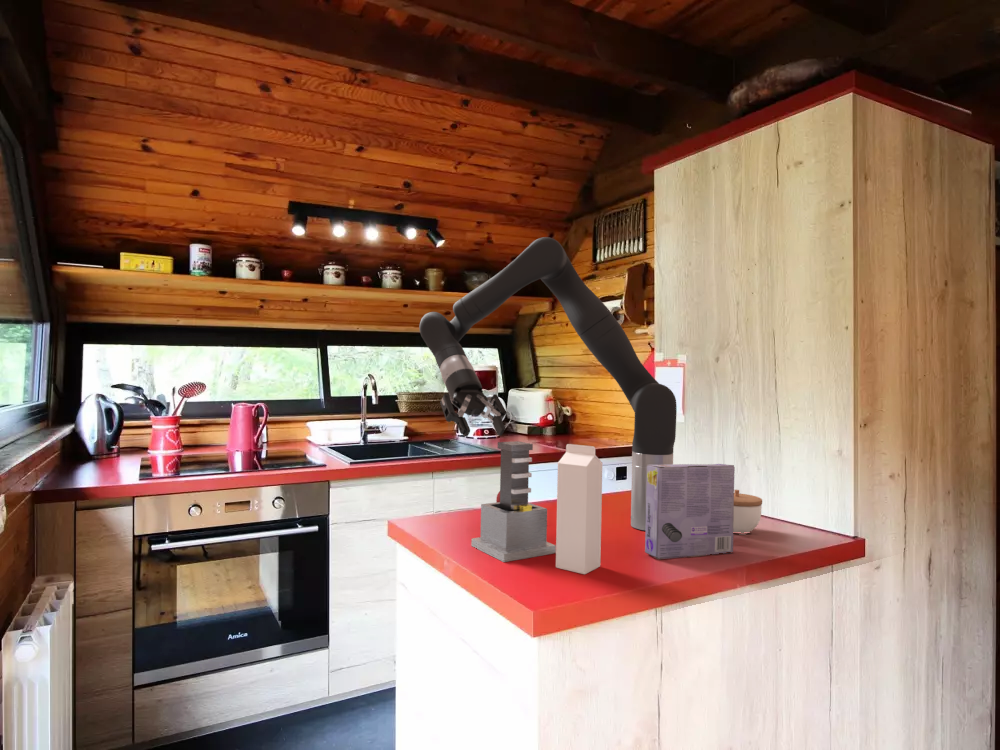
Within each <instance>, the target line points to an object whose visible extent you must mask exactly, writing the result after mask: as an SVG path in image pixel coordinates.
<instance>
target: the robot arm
mask: <svg viewBox="0 0 1000 750" xmlns="http://www.w3.org/2000/svg"><path fill="white" fill-rule="evenodd" d="M538 280H541V281H542V283H544V285H545V286H546V287H547V288H548V289H549V290H550V292H551V293H552V294H553V296H555V297H556V299H557V300H558V302H559V303H560V305H561V307H562V308H563V311H564V312H565V315H566V317H567V319H568V320H569V322H570V324H571V326H572V327H573V329H574V330H575V332H576V334H577V335H578V337H579V338H580V339H581V341H582V342H583V344H584V345H585V346H586V347H587V349H588V350H589V352H591V354H592V355H593V356H594V358H595V359H596V361H598V363H600V365H601V366H602V367H603V368H604V369H605V370H606V371H607V372H608V373H609V374H610V375H611V376H612V378H613V379H614V380H615V381H616V382H617V383H616V384H618V386H619V388H620V389H621V391H622V392H623V394H624V395H625V398H626V399H627V401H628V403H629V404H630V406H631V409H632V410H633V412H634V423H633V425H634V427H633V428H634V429H633V430H634V431H633V437H632V447H631V452H632V453H631V497H630V499H631V500H630V526H631V527H632V528H634V529H637V530H641V531H646V488H647V465H671V464H674V446H675V442H676V437H677V436H676V435H677V407H678V406H677V399H676V395H675V394H674V392H673V391H672V390H671V389H670V387H668V386H666V385H665V384H662V383H659V382H658V381H657V380H656V379H655V378H654V377H653V375H652V374H651V373H650V372H649V371H648V369H647V368H646V367H645V366H644V365H643V364H642V362H641V361H640V359H639V357H638V356H637V353H636V351H635V349H634V347H633V345H632V343H631V340H630V339H629V337H628V336H627V334H626V332H625V330H624V328H623V327H622V326H621V324H620V322H619V321H618V320H617V318H616V317H615V316H614V315H613V313H612V312H611V310H609V308H608V307H607V306H606V305H605V304H604V302H603V301H602V300H601V299H600V298H599V297H598V295H596V294H595V293H594V292H593V291H592V290H591V289H590V287H589V286H587V284H585V282H584V281H583V279H581V277H580V275H579V274H578V272H577V270H576V269H575V267H574V266H573V264H572V262H571V260H570V258H569V257H568V255H567V253H566V250H565V248H564V247H563V246H562V244H561V243H560V242H559V241H558V240H556V239H555V238H552V237H549V236H543V237H538V238H537V239H535V240H533V241H532V242H531V243H530V244H529V245H528V246H527V247H526V248H525V249H524V250H523V251H522V252H520V254H519V255H518V256H517V257H516V258H515V259H513V260H512V261H511V262H510V263H509V264H507V265H506V267H504V268H503V269H502V270H500V271H499V272H498V273H496V274H495V275H494V276H492V277H491V278H489V279H488V280H486V281H485V282H483V283H481V284H480V285H479V286H477V287H476V288H474V289H473V290H472V291H470V292H468V293H467V294H466V295H464V296H463V297H461V298H460V299H458V300H457V301H455V302H454V303H453V306H452V311H453V313H454V317H453V318H452V319H451V320H448V319H447V318H446V316H444V315H443V314H442V313H440V312H437V311H431V312H427V313H425V314H424V315H423V316H422V317H421V319H420V322H419V324H418V325H419V326H418V328H419V333H420V336H421V338H422V340H423V341H424V343H425V345H426V346H427V348H428V349H429V351H430V352H431V353H432V355H433V356H434V358H435V361H436V364H437V366H438V368H439V371H440V374H441V375H440V376H441V378H442V381H443V383H444V386H445V388H446V391H447V393H444V395H443V397H442V398H441V400H440V402H439V403H440V406H441V409H442V412H443V415H444V419H445V420H446V422H448V423H451V422H454V424H456V426H457V428H458V430H459V433H460V434H461V435H463V437H469V435H470V433H471V428H470V426H469V424H468V422H467V418H466V417H464V416H465V414H466V415H467V416H472V415H475V416H481V418H484V419H487V420H489V421H491V422H492V425H493V428H494V431H495V433H496V434H497V436H502V435H503V434H504V432H505V430H506V426H505V424H504V422H503V420H504V417H506V415H507V413H508V412H507V411H506V409H505V407H504V405H503V403H502V401H501V399H500V398H499V396H498V395H497V394H494V393H493V394H492V396H487V395H485V394H484V392H483V386H482V384H481V381H480V378H479V377H478V375H477V372H476V371H475V369H474V366H473V365H472V363H471V362H470V360H469V358H468V356H467V354H466V352H465V349H463V346H462V345H461V343H460V341H461V340H462V338H464V336H465V335H466V334H467V333H468V332H469V331H470V330H471V328H472V327H473V326H474V325H475V324H477V323H479V322H480V321H482V320H483V319H485V318H487V317H488V316H490V314H492V313H494V312H495V311H496V310H497V309H498V308H500V307H501V306H502V305H503V304H504V303H505V302H506V301H507V300H509V299H510V298H511V297H512V296H513V295H514V294H516V293H517V292H518V291H520V290H521V289H523V288H525V287H526V286H528V285H529V284H532V283H534V282H536V281H538ZM453 405H454V406H453ZM454 407H456V408H457V409H458V412H456V411H455V409H454ZM485 408H486V411H484V410H485Z"/></svg>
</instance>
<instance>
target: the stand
mask: <svg viewBox="0 0 1000 750" xmlns="http://www.w3.org/2000/svg"><path fill="white" fill-rule="evenodd" d="M529 503H530V504H531V505H529V504H526V505H520V510H519V511H511V512H508V511H505V510H502V509H500V502H490V503H481V504H480V537H479V536H478V537H474V538H471V544H470V546H471V547H472V548H474V547H475V548H474V549H476V548H477V550H478V551H481V552H483V553H484V554H486V555H488V556H491V557H493V558H494V559H496V560H498V561H501V563H506V562H507V563H508V562H512V561H518V560H524V559H525V560H526V559H529V558H536V557H541V556H546V555H548V556H549V555H552V554H553V555H554V554H556V544H553V543H551V542H548V541H547V537H548V536H547V535H548V534H547V532H548V530H547V529H548V508H546V507H543V506H540V505H537V504H533V503H531V502H529Z"/></svg>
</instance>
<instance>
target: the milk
mask: <svg viewBox="0 0 1000 750" xmlns="http://www.w3.org/2000/svg"><path fill="white" fill-rule="evenodd" d="M556 484H557V485H556V486H557V489H556V490H557V491H556V492H557V494H556V537H555V540H556V541H555V542H556V543H555V545H556V553H555V568H557V569H560V570H565V571H569V572H573V573H578V574H580V575H586V574H588V573H590V572H592V571H595V570H596V569H599V567H601V553H602V552H601V551H602V550H601V546H602V504H603V503H602V500H603V492H602V491H603V462H602V461H601V459H600V458H599V457H598V456H597V455H596V447H595V446H592V445H583V444H573V443H567V444H566V446H565V453H564V454H563V455H562V456H561V458H560V459H559V460H558V462H557V483H556Z"/></svg>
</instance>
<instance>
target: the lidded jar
mask: <svg viewBox="0 0 1000 750" xmlns="http://www.w3.org/2000/svg"><path fill="white" fill-rule="evenodd" d="M762 505H763V499H762V498H761V497H759V496H756V495H752V494H746V493H740V489H734V522H733V529H734V531H733V532H741V533H744V532H750V531H751V532H752V531H753V530H754V529H756V528H757V526H758V525H759V523H760V521H761V517H762V508H763V507H762Z"/></svg>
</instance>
